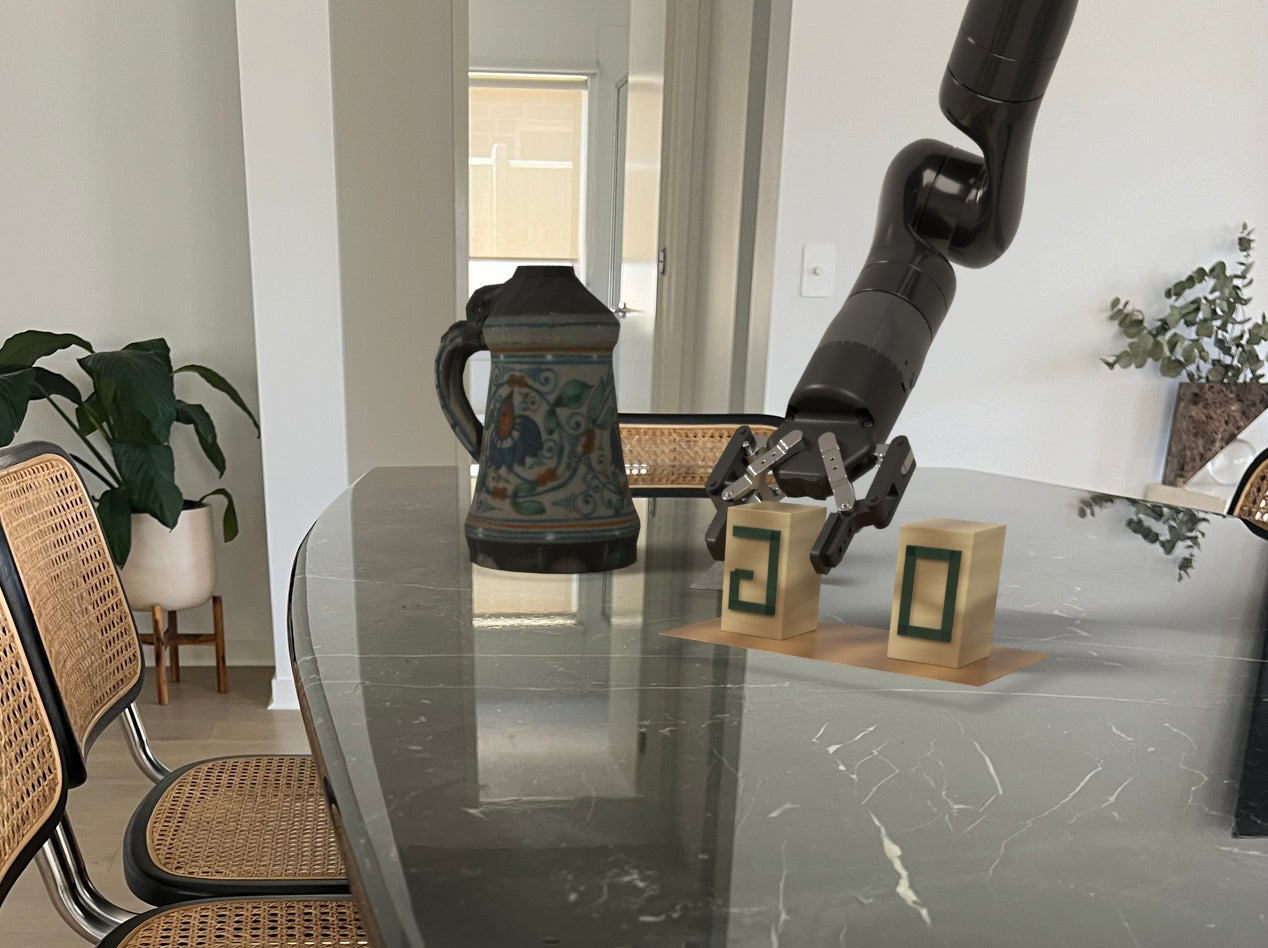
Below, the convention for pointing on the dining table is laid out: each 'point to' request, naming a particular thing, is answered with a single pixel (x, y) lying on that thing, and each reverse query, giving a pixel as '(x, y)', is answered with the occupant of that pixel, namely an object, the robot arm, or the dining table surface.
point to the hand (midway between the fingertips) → (764, 560)
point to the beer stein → (541, 426)
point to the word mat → (863, 651)
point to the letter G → (771, 569)
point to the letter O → (945, 591)
